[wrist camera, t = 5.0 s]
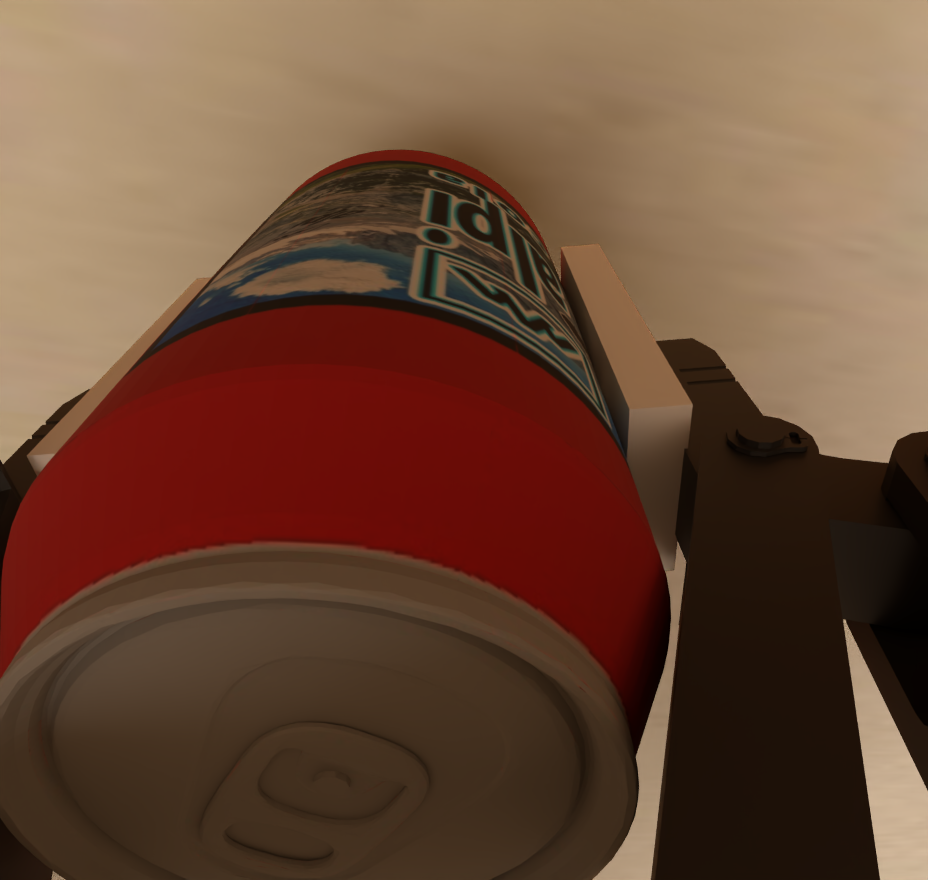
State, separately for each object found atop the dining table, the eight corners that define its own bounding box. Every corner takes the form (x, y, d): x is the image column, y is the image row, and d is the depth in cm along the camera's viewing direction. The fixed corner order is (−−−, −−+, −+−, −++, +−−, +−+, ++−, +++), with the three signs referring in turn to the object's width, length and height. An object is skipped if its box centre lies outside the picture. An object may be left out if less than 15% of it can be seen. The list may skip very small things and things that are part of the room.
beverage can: (613, 248, 15) (924, 733, 5) (458, 460, 18) (456, 1024, 8) (340, 70, 13) (-46, 274, 3) (218, 341, 16) (-174, 887, 6)
